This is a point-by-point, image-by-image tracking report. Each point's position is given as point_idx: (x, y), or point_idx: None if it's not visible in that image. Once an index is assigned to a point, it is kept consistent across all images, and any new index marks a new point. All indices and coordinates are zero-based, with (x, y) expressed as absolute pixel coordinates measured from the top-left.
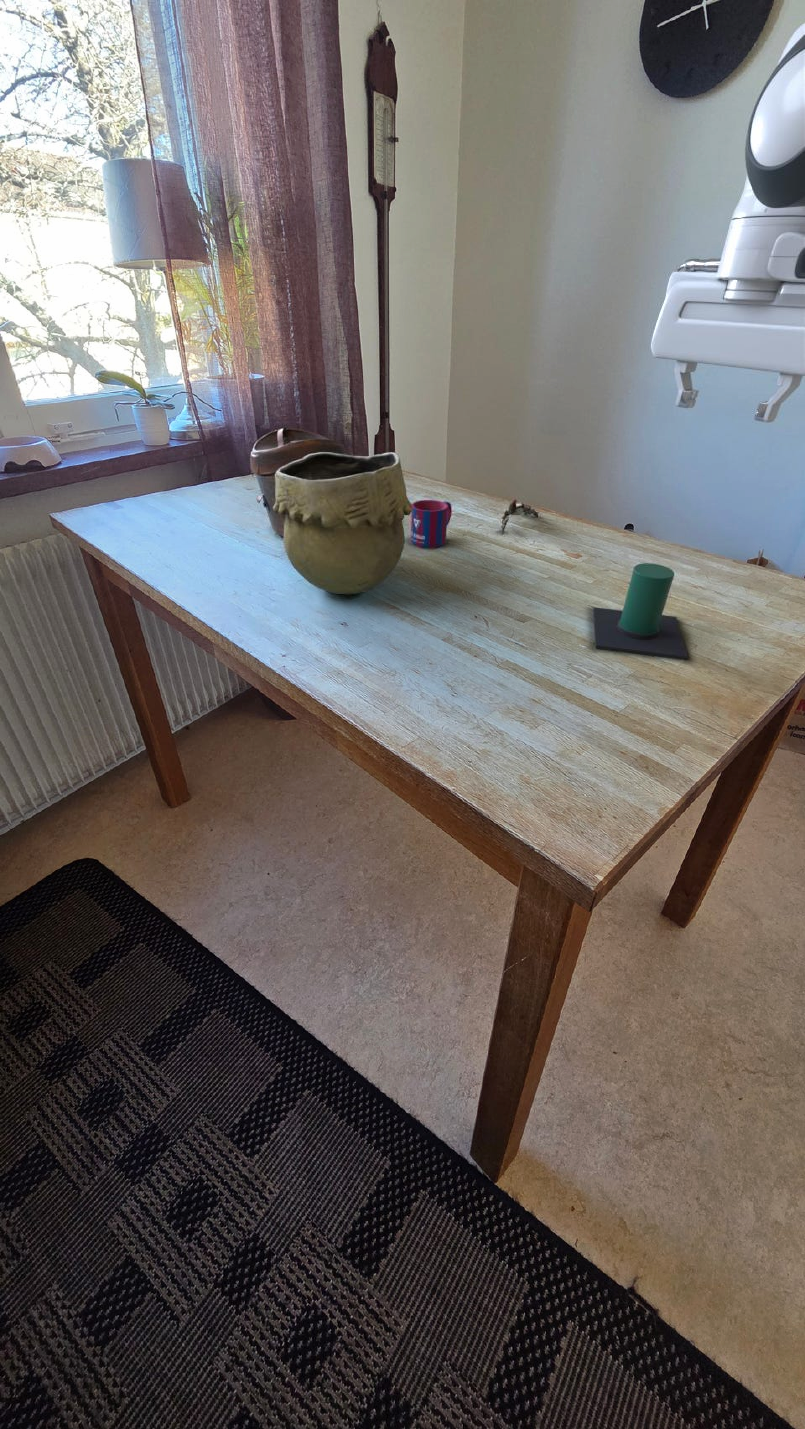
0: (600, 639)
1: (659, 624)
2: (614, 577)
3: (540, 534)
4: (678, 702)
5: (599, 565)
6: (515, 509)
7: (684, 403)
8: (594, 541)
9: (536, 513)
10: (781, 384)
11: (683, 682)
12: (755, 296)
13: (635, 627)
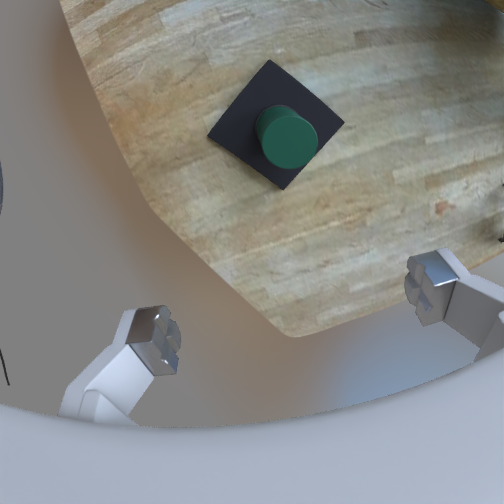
0: (278, 72)
1: None
2: (387, 205)
3: (482, 214)
4: (148, 73)
5: (413, 213)
6: None
7: (424, 259)
8: None
9: (501, 240)
10: (86, 393)
11: (174, 101)
12: None
13: (267, 110)
